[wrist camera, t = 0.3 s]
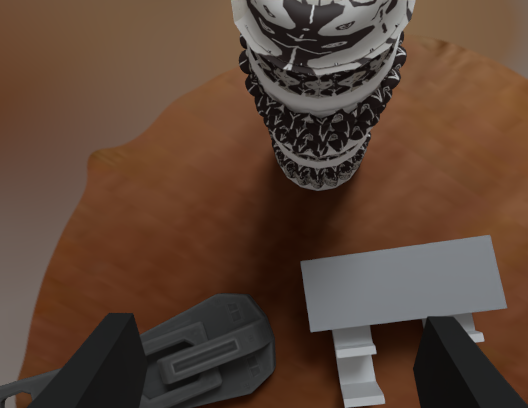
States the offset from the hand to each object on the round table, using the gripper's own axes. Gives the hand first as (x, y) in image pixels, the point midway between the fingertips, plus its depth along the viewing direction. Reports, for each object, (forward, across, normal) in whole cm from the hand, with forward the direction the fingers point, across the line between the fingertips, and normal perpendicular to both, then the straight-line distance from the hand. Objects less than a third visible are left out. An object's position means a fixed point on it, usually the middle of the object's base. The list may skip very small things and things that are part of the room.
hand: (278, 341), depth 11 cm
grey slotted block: (+19, -10, +21) cm, 30 cm away
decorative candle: (+31, -4, +10) cm, 33 cm away
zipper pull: (+17, +13, +26) cm, 34 cm away
